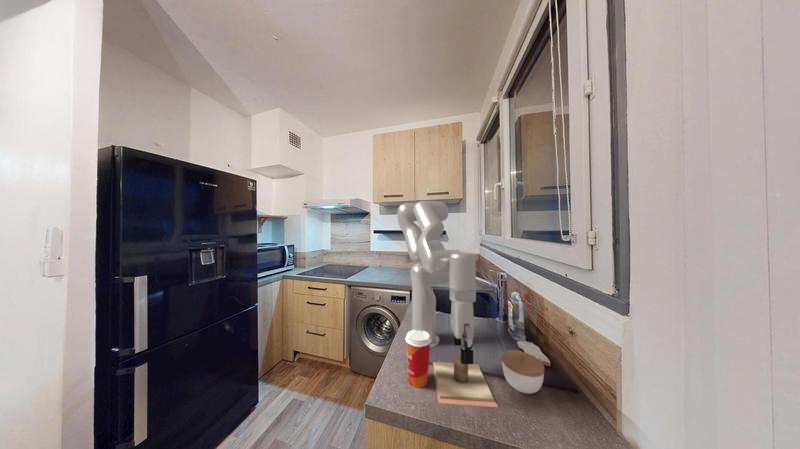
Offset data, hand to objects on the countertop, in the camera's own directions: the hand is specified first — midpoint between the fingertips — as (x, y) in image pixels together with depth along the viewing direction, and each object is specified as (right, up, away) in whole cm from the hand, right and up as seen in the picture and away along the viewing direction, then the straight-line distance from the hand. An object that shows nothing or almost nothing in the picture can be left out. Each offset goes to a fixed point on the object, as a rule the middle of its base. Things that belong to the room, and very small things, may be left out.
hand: (462, 353), depth 63 cm
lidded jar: (+17, -10, -1) cm, 20 cm away
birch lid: (0, -9, +1) cm, 9 cm away
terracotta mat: (0, -9, +1) cm, 9 cm away
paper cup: (-13, -9, +1) cm, 16 cm away
